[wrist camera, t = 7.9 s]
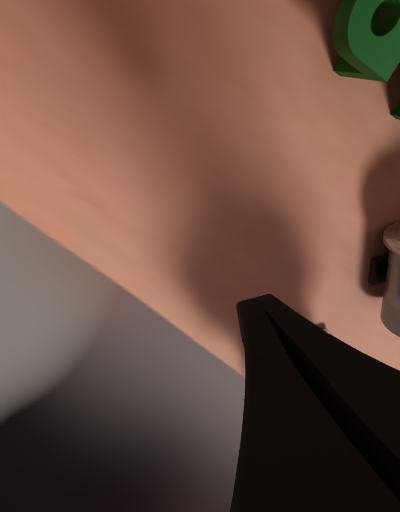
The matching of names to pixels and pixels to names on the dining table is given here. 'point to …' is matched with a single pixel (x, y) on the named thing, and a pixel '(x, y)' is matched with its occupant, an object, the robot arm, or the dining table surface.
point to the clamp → (368, 40)
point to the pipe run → (389, 278)
